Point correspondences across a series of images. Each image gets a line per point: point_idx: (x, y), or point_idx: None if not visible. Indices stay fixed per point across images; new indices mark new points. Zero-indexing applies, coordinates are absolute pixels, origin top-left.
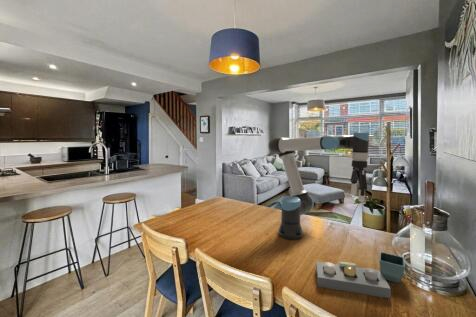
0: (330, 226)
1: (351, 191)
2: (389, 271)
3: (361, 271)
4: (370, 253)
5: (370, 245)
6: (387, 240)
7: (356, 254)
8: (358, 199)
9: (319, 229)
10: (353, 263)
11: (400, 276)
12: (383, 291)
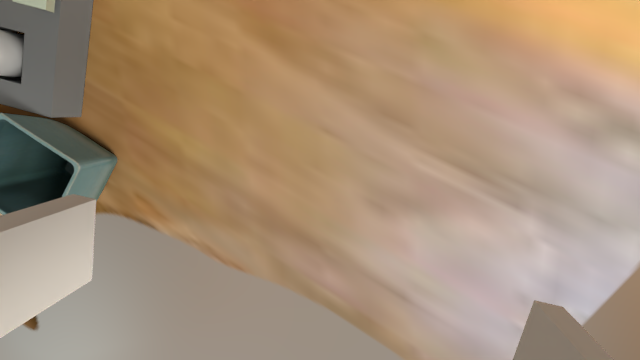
0: (627, 130)
1: (574, 347)
2: (25, 143)
3: (28, 30)
4: (267, 194)
5: (346, 240)
6: (399, 354)
7: (255, 121)
8: (68, 206)
9: (583, 27)
10: (40, 3)
11: (20, 173)
12: None
